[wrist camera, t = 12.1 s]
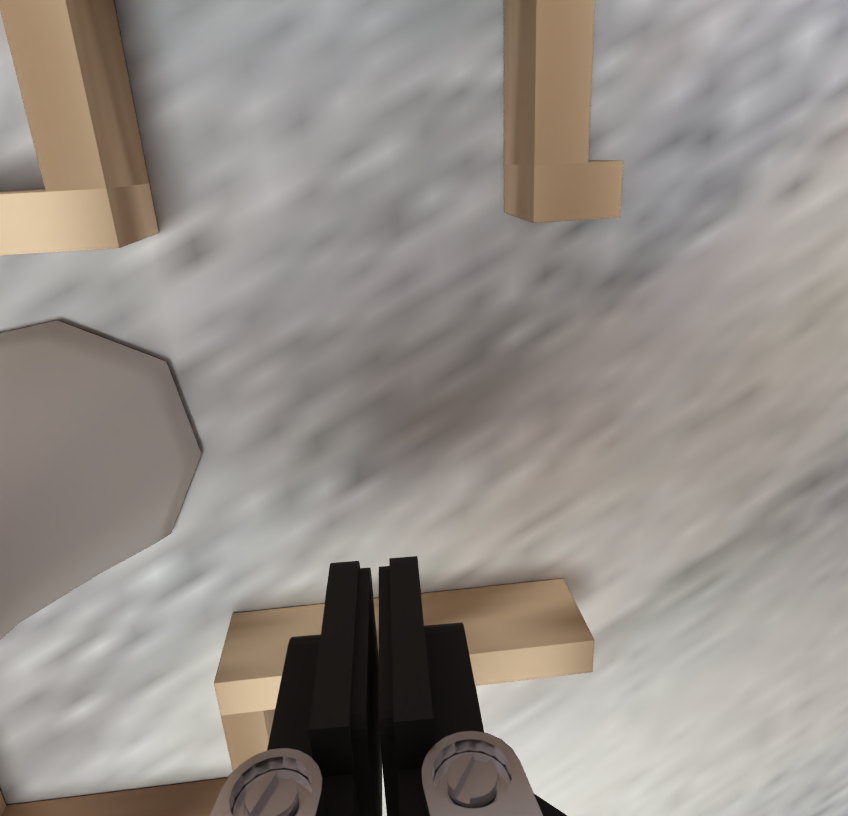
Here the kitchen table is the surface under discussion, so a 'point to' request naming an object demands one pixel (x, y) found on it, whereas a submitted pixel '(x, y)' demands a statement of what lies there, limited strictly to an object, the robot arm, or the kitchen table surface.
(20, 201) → the zigzag wooden frame
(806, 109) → the kitchen table surface
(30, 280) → the kitchen table surface
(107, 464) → the flask
